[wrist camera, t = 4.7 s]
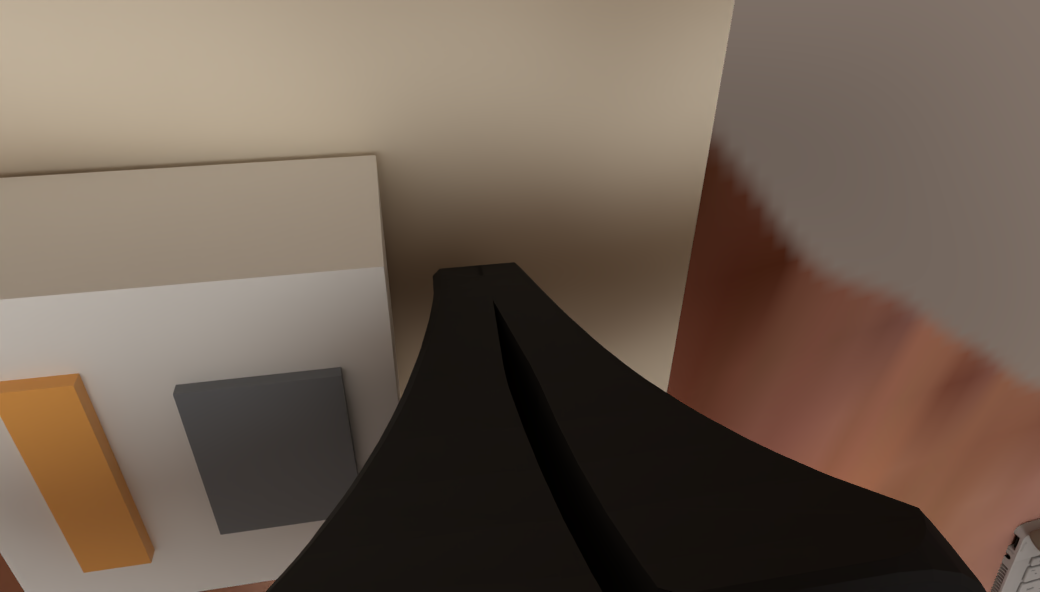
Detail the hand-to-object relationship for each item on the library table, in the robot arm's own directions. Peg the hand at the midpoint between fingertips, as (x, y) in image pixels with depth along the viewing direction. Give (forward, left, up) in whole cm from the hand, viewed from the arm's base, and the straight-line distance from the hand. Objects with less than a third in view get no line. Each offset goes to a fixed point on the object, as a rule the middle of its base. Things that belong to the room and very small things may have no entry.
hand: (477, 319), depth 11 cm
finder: (0, +4, -1) cm, 4 cm away
